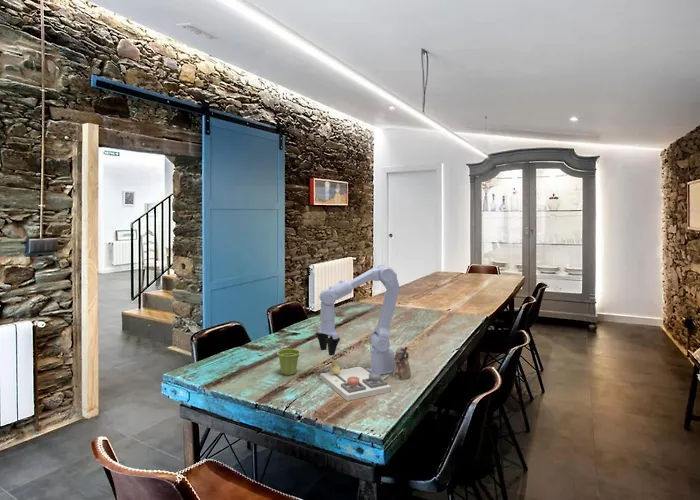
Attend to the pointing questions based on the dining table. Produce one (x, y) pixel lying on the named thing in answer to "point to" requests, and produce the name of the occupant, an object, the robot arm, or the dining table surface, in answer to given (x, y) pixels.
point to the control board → (354, 392)
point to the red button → (353, 381)
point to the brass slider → (334, 367)
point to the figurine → (401, 365)
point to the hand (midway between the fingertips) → (327, 352)
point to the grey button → (374, 377)
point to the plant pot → (288, 360)
